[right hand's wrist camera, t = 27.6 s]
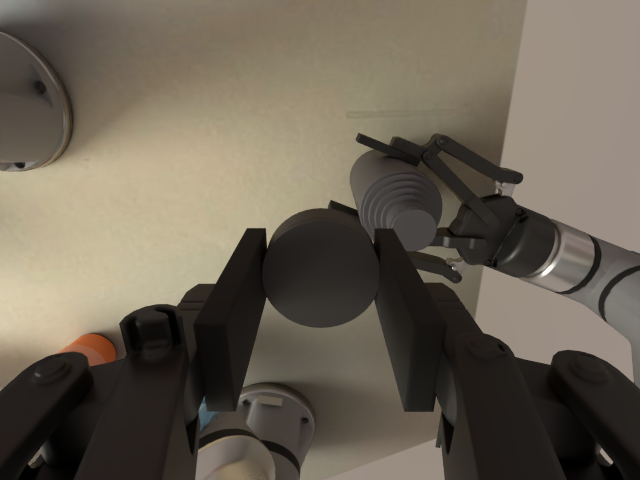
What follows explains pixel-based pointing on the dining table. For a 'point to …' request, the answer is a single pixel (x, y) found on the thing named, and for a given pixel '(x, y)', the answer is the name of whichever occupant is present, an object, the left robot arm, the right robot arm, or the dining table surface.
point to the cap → (320, 268)
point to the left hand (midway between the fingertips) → (343, 173)
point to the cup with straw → (93, 349)
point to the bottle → (396, 199)
